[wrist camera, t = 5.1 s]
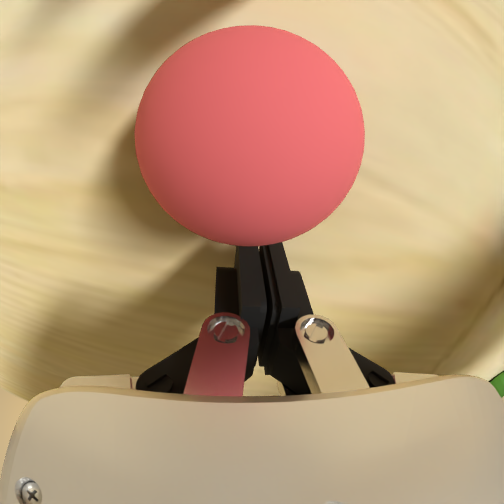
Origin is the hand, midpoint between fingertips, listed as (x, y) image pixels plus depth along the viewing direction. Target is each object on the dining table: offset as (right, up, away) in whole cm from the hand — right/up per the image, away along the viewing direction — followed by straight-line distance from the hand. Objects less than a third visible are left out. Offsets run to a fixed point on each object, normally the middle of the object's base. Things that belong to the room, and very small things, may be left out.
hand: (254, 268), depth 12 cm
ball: (0, +4, -4) cm, 6 cm away
